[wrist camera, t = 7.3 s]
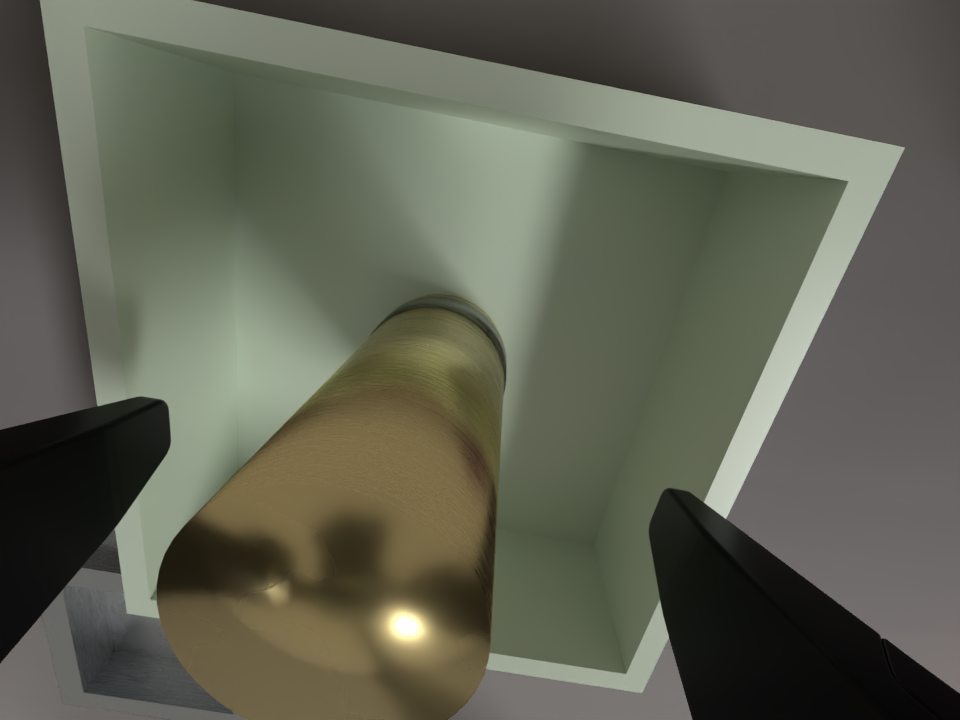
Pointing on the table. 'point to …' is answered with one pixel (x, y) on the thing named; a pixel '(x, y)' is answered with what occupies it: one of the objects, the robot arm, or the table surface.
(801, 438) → the table surface
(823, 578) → the table surface
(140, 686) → the socket block
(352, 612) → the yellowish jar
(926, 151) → the table surface
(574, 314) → the bin
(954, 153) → the table surface
